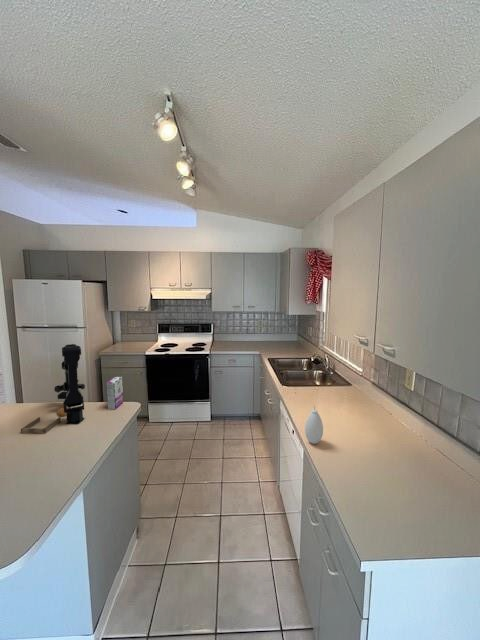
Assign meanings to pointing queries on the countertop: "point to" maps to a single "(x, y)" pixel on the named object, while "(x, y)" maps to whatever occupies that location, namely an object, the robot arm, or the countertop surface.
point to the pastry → (62, 412)
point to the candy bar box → (115, 392)
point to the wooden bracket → (39, 430)
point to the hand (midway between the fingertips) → (72, 405)
